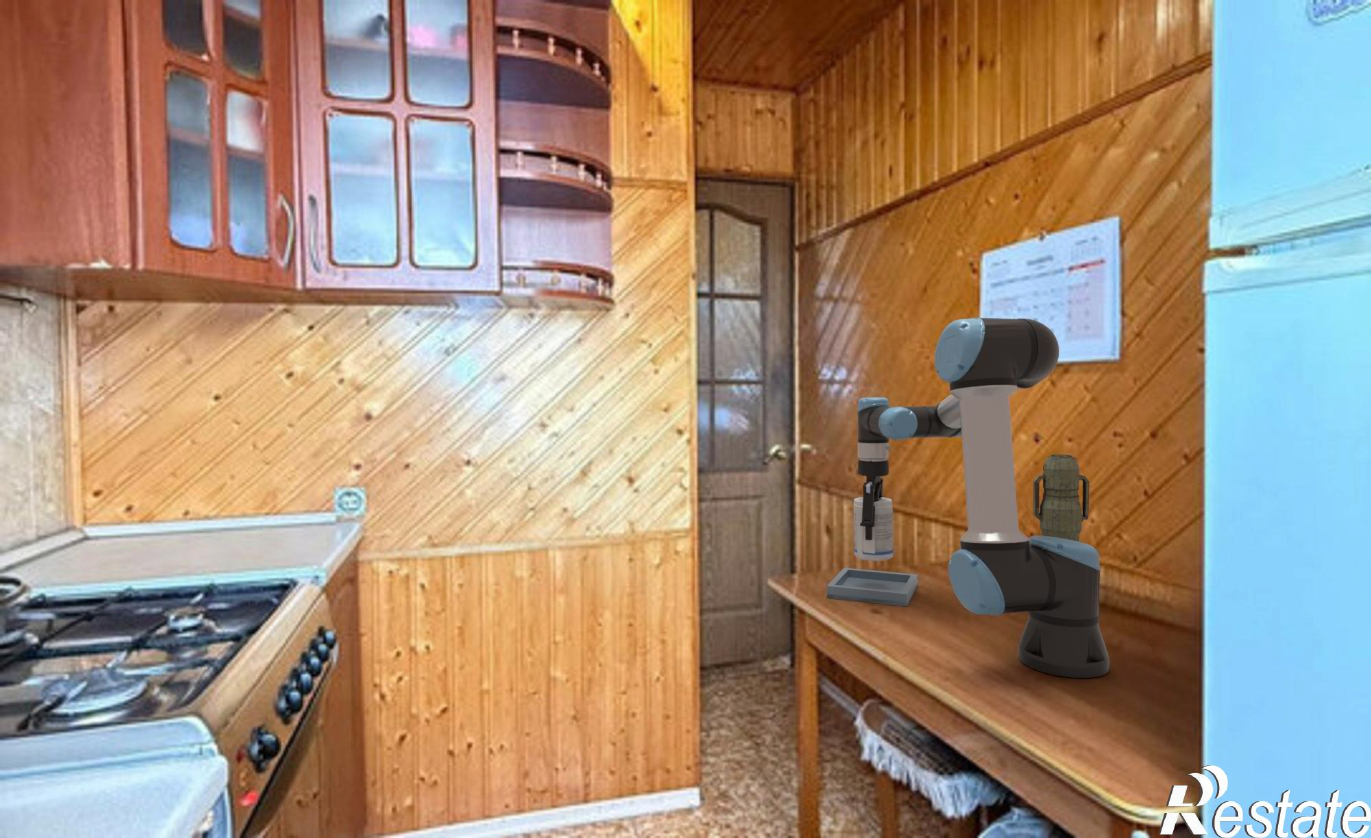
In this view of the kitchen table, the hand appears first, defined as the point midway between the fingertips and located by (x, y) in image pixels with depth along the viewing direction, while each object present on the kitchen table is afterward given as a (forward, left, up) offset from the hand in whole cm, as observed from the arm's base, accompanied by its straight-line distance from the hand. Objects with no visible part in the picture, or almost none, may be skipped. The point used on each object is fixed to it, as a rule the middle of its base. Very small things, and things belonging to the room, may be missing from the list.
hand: (873, 548), depth 185 cm
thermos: (+7, -42, -11) cm, 44 cm away
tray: (0, 0, -11) cm, 11 cm away
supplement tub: (0, 0, -3) cm, 3 cm away
